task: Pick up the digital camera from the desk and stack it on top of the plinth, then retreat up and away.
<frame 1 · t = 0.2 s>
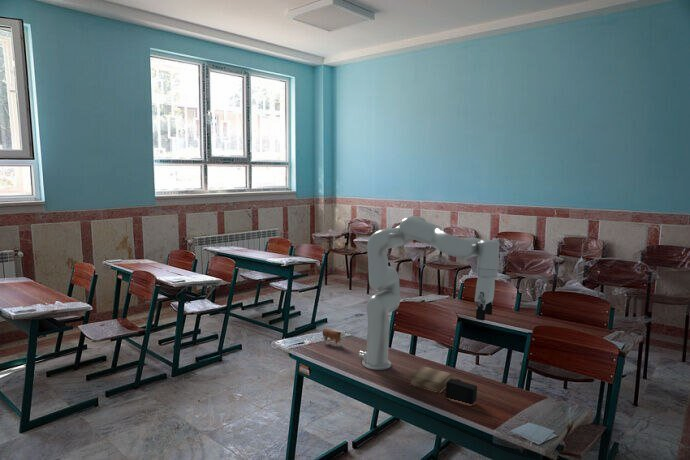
hand: (484, 317, 186), 30 cm above the table, fingers open, 9 cm apart
digital camera: (461, 401, 182), on the table
plinth: (430, 383, 196), on the table
bull figurine: (334, 345, 236), on the table
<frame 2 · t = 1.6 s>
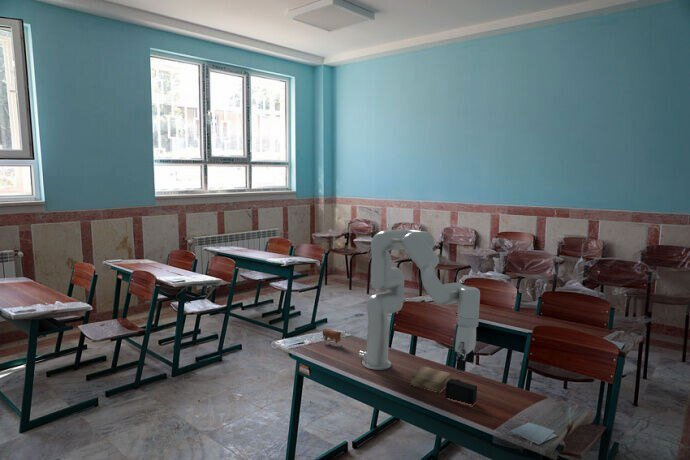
hand: (465, 366, 181), 14 cm above the table, fingers open, 9 cm apart
nothing on the table moved.
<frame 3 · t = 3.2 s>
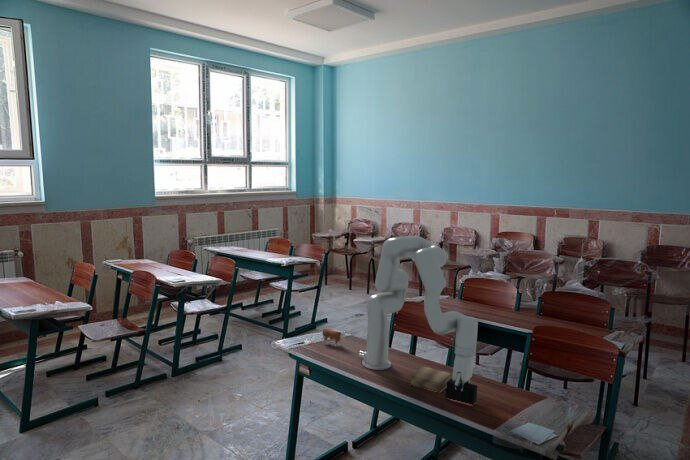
hand: (461, 396, 182), 1 cm above the table, fingers closed on digital camera, 5 cm apart
digital camera: (461, 401, 182), on the table, touching gripper
everything else where it was.
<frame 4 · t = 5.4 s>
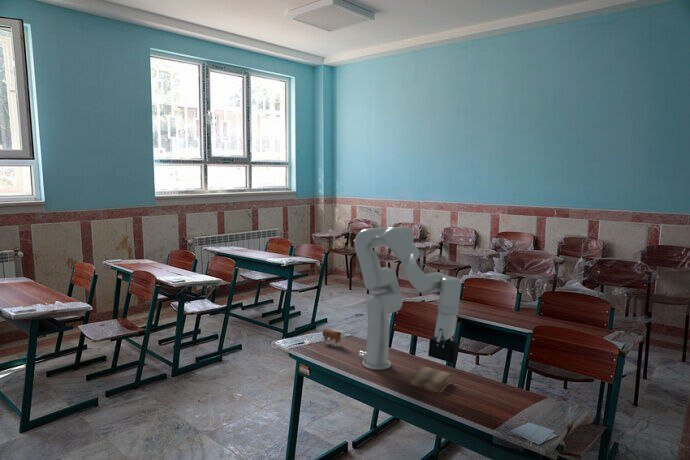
hand: (443, 353, 190), 14 cm above the table, fingers closed on digital camera, 5 cm apart
digital camera: (443, 358, 190), point 13 cm above the table, touching gripper
everything else where it was.
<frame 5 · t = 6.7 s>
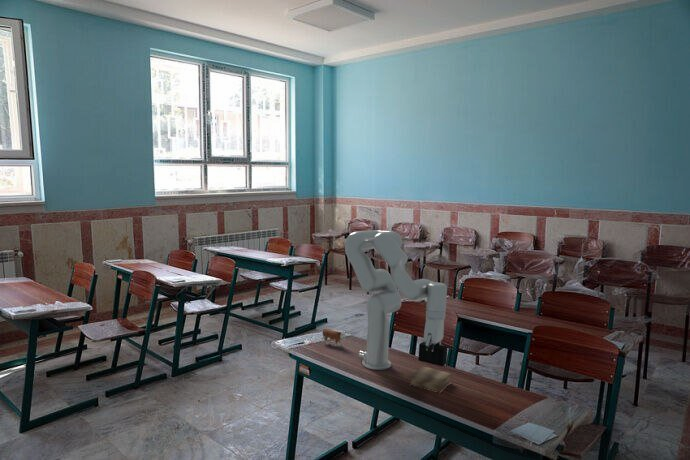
hand: (433, 358, 195), 11 cm above the table, fingers closed on digital camera, 5 cm apart
digital camera: (433, 362, 195), point 9 cm above the table, touching gripper
everything else where it was.
when the fingers open (7 cm above the table, at t = 7.8 s): digital camera drops 1 cm, resting on plinth.
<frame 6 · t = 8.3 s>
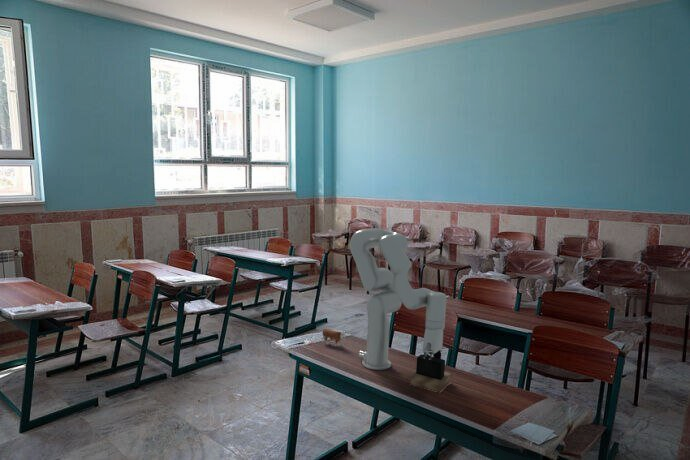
hand: (432, 365, 195), 8 cm above the table, fingers open, 9 cm apart
digital camera: (430, 375, 195), point 4 cm above the table, touching plinth
everything else where it was.
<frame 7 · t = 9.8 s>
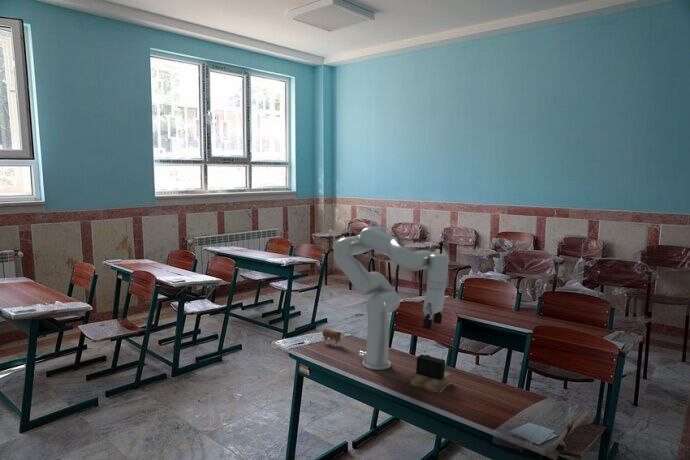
hand: (432, 325, 198), 23 cm above the table, fingers open, 9 cm apart
nothing on the table moved.
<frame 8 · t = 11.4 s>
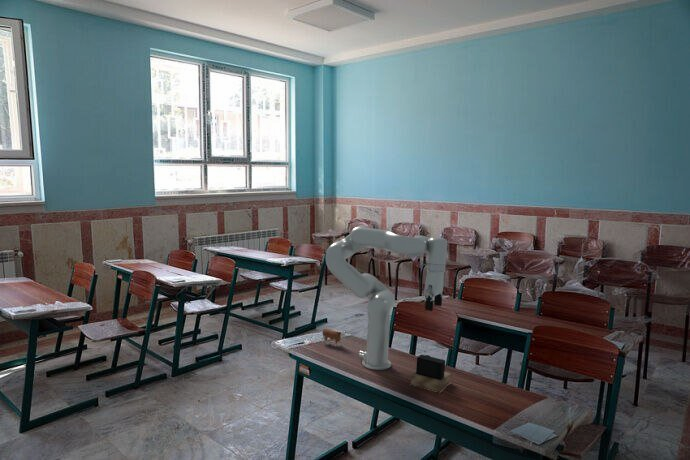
hand: (433, 307, 204), 28 cm above the table, fingers open, 9 cm apart
nothing on the table moved.
at the end: digital camera inside the target area on the plinth (0.8 cm from its centre), point 3.8 cm above the plinth's base; digital camera touching plinth; the gripper is holding nothing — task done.
